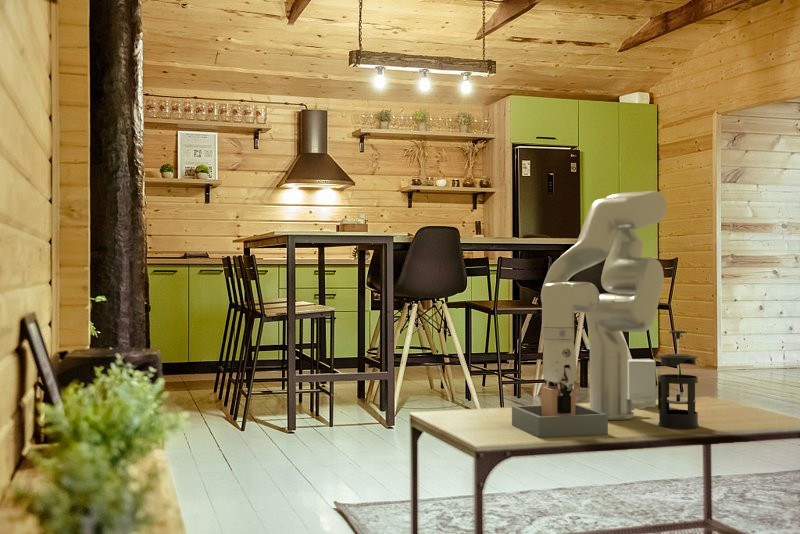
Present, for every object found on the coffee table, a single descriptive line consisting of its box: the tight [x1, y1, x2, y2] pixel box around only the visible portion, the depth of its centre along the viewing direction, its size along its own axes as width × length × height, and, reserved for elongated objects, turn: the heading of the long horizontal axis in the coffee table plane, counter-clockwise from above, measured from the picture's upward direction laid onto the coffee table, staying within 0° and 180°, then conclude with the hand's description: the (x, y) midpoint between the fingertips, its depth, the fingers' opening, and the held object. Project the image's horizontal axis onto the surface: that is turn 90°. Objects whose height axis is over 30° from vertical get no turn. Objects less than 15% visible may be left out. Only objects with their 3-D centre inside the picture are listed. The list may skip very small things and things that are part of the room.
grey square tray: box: [511, 403, 609, 438], centre depth 210 cm, size 17×17×4 cm
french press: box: [657, 330, 700, 430], centre depth 215 cm, size 12×9×23 cm
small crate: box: [541, 385, 576, 416], centre depth 210 cm, size 6×6×7 cm
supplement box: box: [628, 358, 657, 408], centre depth 248 cm, size 7×7×13 cm
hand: (558, 410), depth 210 cm, fingers closed on small crate, 5 cm apart
